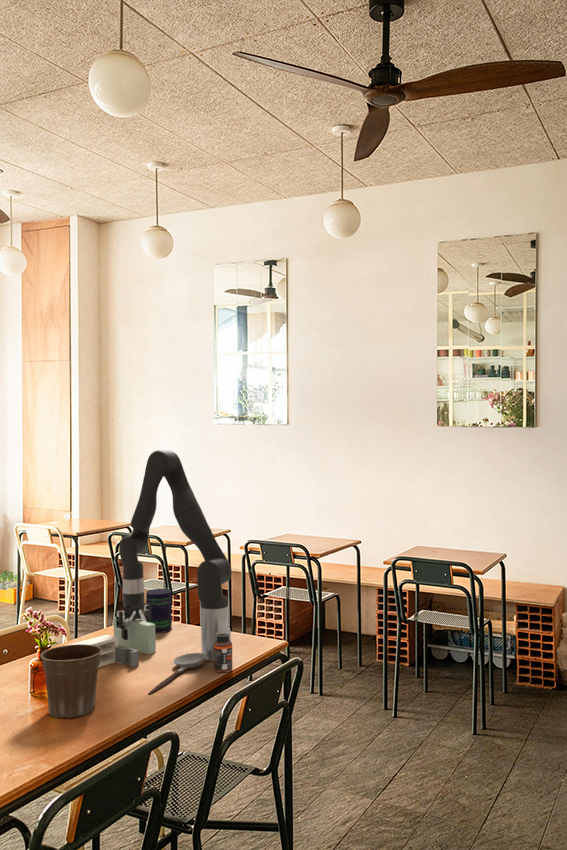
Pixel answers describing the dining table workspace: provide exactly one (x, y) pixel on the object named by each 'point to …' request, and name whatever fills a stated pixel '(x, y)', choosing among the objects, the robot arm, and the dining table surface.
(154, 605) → the dark blue barrel
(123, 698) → the dining table surface
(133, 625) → the door
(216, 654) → the supplement bottle
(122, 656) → the cabinet
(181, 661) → the spoon
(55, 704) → the plant pot
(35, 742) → the dining table surface
